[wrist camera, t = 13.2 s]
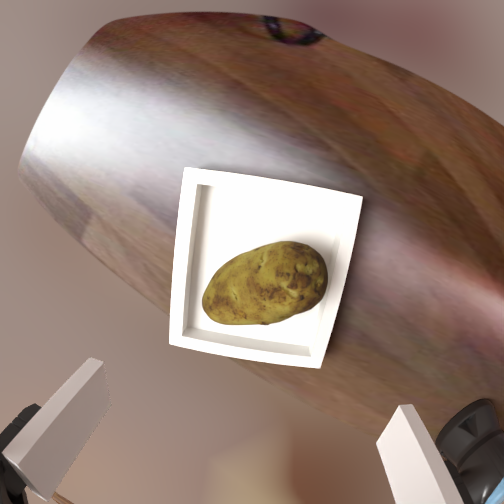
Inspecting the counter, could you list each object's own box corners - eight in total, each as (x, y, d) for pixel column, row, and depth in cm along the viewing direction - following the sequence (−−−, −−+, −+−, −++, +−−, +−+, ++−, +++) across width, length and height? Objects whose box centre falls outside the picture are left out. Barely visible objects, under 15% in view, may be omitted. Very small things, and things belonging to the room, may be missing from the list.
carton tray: (315, 353, 34) (319, 368, 31) (177, 330, 35) (169, 344, 31) (352, 195, 30) (362, 196, 27) (193, 169, 30) (184, 167, 27)
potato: (198, 244, 31) (175, 262, 23) (315, 230, 30) (331, 244, 22) (211, 313, 33) (195, 348, 25) (320, 301, 32) (335, 335, 24)
